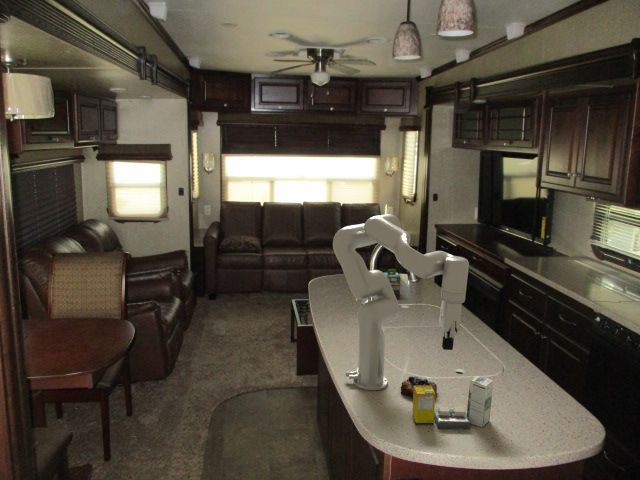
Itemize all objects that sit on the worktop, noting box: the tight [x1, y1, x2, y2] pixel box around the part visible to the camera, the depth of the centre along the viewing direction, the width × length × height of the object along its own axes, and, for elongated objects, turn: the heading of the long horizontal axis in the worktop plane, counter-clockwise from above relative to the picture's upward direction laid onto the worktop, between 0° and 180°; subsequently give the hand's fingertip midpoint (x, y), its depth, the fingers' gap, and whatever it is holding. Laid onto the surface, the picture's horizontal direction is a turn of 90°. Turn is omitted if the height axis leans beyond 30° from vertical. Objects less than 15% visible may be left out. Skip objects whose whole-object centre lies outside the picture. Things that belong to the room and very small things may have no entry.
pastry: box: [400, 375, 438, 399], centre depth 197 cm, size 11×12×6 cm
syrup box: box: [466, 375, 494, 428], centre depth 178 cm, size 6×6×14 cm
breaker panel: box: [434, 408, 471, 430], centre depth 178 cm, size 10×8×3 cm
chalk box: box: [383, 268, 401, 297], centre depth 317 cm, size 9×9×15 cm
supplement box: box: [411, 386, 436, 426], centre depth 178 cm, size 6×6×11 cm
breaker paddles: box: [437, 406, 466, 416], centre depth 178 cm, size 8×2×2 cm, turn 89°
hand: (447, 348), depth 180 cm, fingers closed
